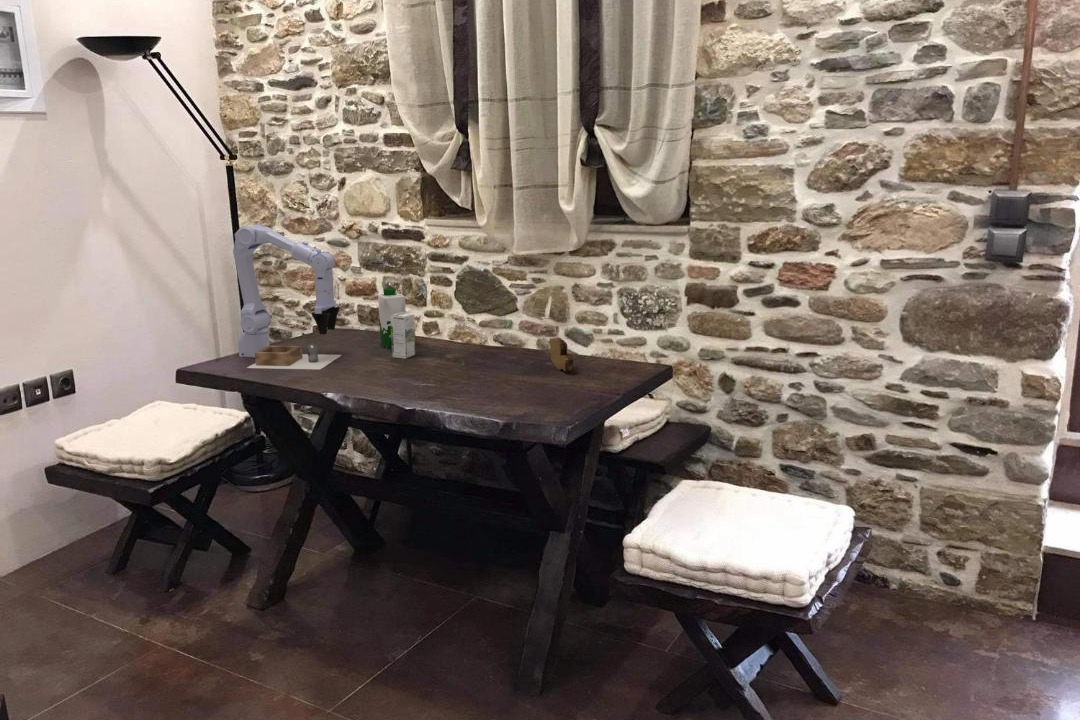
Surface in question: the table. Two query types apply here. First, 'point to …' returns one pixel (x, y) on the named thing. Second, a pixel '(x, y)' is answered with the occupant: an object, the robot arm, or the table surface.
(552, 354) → the wooden carving
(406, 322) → the syrup box
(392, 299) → the milk carton
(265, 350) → the square collar
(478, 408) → the table surface
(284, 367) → the post board
